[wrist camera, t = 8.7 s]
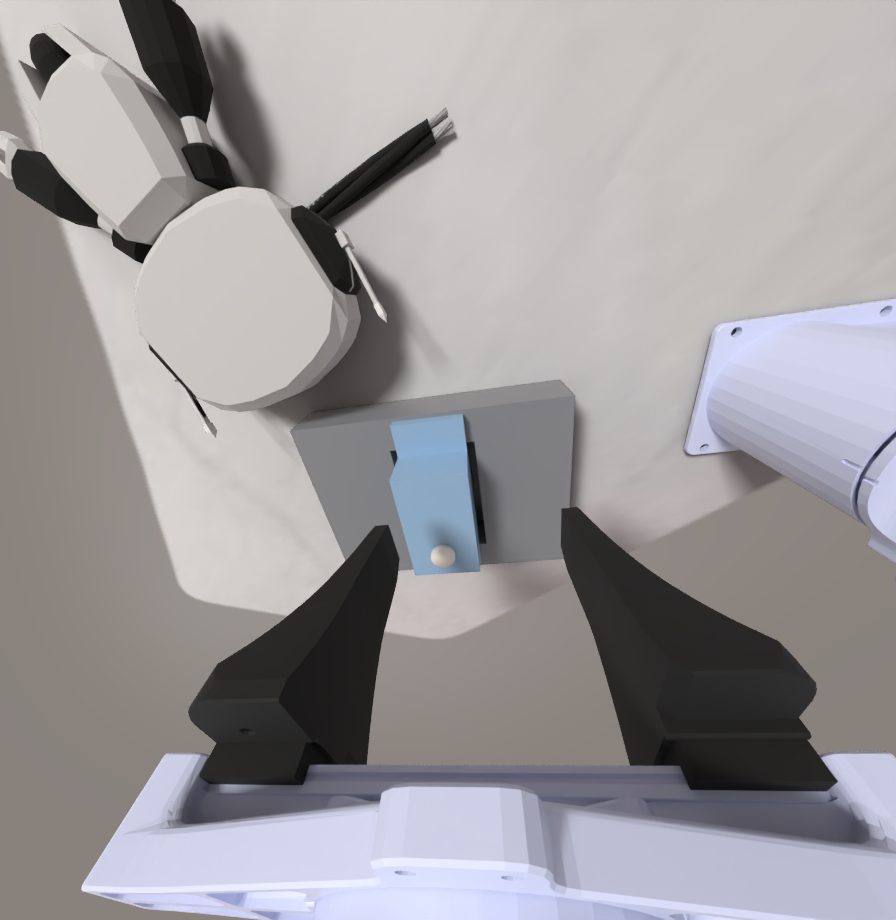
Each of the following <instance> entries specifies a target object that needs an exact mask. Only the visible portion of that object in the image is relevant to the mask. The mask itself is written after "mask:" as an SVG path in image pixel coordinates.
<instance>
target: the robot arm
mask: <svg viewBox="0 0 896 920" xmlns="http://www.w3.org/2000/svg"><path fill="white" fill-rule="evenodd" d="M882 309H883V311H882V312H881V310H882ZM880 312H881V313H880ZM735 328H736V332H735V334H733V335H732V336H731V332H732V330H733V329H735ZM704 444H705V445H704ZM702 445H704V446H703V447H702V448H700V447H701V446H702ZM684 450H685V451H686V452H687V453H688V454H690V455H698V454H708V453H718V452H728V451H738V450H742V451H744V452H746V453H747V454H749V455H751V456H752V457H754V458H756V459H757V460H759V461H761V462H762V463H764V464H765V465H767V466H769V467H770V468H772V469H774V470H775V471H777V472H779V473H780V474H782V475H784V476H785V477H787V478H788V479H790V480H792V481H794V482H795V483H797V484H798V485H800V486H802V487H803V488H805V489H807V490H808V491H810V492H811V493H813V494H815V495H816V496H818V497H820V498H821V499H823V500H825V501H826V502H828V503H829V504H831V505H833V506H834V507H836V508H838V509H839V510H841V511H843V512H844V513H846V514H848V515H849V516H851V517H852V518H854V519H856V520H857V521H859V522H861V523H862V524H864V525H866V526H867V527H868V528H869V529H870V533H871V534H870V539H869V541H868V546H869V547H871V548H872V549H874V550H875V551H877V552H878V553H880V554H881V555H883V556H884V557H886V558H887V559H889V560H891V561H892V562H894V563H895V564H896V298H895V299H888V300H881V301H874V302H867V303H860V304H853V305H846V306H839V307H832V308H825V309H818V310H811V311H804V312H797V313H790V314H783V315H776V316H769V317H762V318H755V319H748V320H741V321H734V322H727V323H722V324H720V325H718V326H717V327H716V328H715V329H714V330H713V333H712V336H711V340H710V344H709V348H708V352H707V356H706V360H705V364H704V368H703V373H702V377H701V381H700V385H699V389H698V393H697V397H696V401H695V405H694V409H693V414H692V418H691V422H690V426H689V430H688V434H687V438H686V442H685V446H684ZM561 549H562V553H563V556H564V560H565V563H566V567H567V570H568V573H569V575H570V578H571V580H572V582H573V585H574V588H575V590H576V592H577V595H578V597H579V599H580V602H581V604H582V606H583V609H584V612H585V614H586V617H587V619H588V621H589V624H590V627H591V630H592V632H593V635H594V638H595V642H596V645H597V648H598V651H599V655H600V658H601V661H602V665H603V668H604V671H605V675H606V678H607V682H608V685H609V689H610V692H611V696H612V699H613V703H614V707H615V710H616V714H617V717H618V721H619V725H620V728H621V732H622V736H623V740H624V744H625V748H626V752H627V755H628V759H629V763H630V766H587V765H585V766H583V765H582V766H580V765H578V766H577V765H561V766H560V765H558V766H557V765H552V766H551V765H367V754H368V744H369V733H370V723H371V714H372V706H373V697H374V690H375V682H376V675H377V668H378V662H379V655H380V649H381V643H382V638H383V634H384V630H385V626H386V622H387V618H388V614H389V610H390V607H391V603H392V599H393V595H394V591H395V587H396V583H397V577H398V569H399V560H400V558H399V555H398V552H397V549H396V546H395V543H394V540H393V537H392V534H391V531H390V528H389V525H379V526H374V528H373V529H372V530H371V531H370V532H369V534H368V535H367V536H366V537H365V538H364V540H363V541H362V542H361V543H360V544H359V546H358V547H357V548H356V549H355V551H354V552H353V553H352V554H351V555H350V556H349V558H348V559H347V560H346V561H345V562H344V563H343V564H342V566H341V567H340V568H339V569H338V570H337V571H336V572H335V573H334V574H333V575H332V576H331V577H330V578H329V580H328V581H327V582H326V583H325V584H324V585H323V586H322V587H321V588H319V589H318V590H317V591H316V592H315V593H314V594H313V595H312V596H311V597H310V598H309V599H308V600H306V601H305V602H304V603H303V604H302V605H301V606H299V607H298V608H297V609H296V610H294V611H293V612H292V613H291V614H290V615H288V616H287V617H286V618H285V619H284V620H282V621H281V622H280V623H279V624H277V625H276V626H274V627H273V628H272V629H270V630H269V631H268V632H266V633H265V634H263V635H262V636H260V637H259V638H258V639H256V640H255V641H253V642H252V643H250V644H249V645H247V646H246V647H244V648H243V649H241V650H239V651H238V652H236V653H234V654H233V655H231V656H230V657H228V658H227V659H225V660H223V661H222V662H220V663H218V664H217V666H216V667H215V669H214V670H213V672H212V673H211V675H210V676H209V678H208V680H207V681H206V682H205V684H204V686H203V687H202V689H201V690H200V692H199V693H198V695H197V696H196V698H195V699H194V701H193V703H192V704H191V706H190V708H189V711H188V713H189V717H190V719H191V721H192V722H193V723H194V724H195V725H196V726H197V727H198V728H199V729H201V730H202V731H203V732H204V733H205V734H207V735H208V736H209V737H210V738H211V739H213V740H214V741H215V742H216V745H215V747H214V749H213V751H212V753H211V755H208V754H204V753H197V752H194V753H193V752H173V753H172V752H169V753H167V754H165V755H164V757H163V759H162V760H161V762H160V763H159V765H158V766H157V768H156V770H155V771H154V773H153V774H152V776H151V778H150V779H149V781H148V782H147V784H146V786H145V787H144V789H143V790H142V792H141V793H140V795H139V796H138V798H137V800H136V801H135V803H134V804H133V806H132V808H131V809H130V811H129V812H128V814H127V816H126V817H125V818H124V820H123V822H122V823H121V825H120V826H119V828H118V830H117V831H116V833H115V834H114V836H113V837H112V839H111V841H110V842H109V844H108V845H107V847H106V849H105V850H104V852H103V853H102V855H101V856H100V858H99V860H98V861H97V863H96V864H95V866H94V867H93V869H92V871H91V872H90V874H89V875H88V877H87V878H86V880H85V882H84V883H83V885H82V891H84V892H87V893H91V894H95V895H98V896H102V897H106V898H109V899H113V900H116V901H120V902H124V903H127V904H131V905H134V906H138V907H141V908H145V909H154V910H167V911H168V910H169V911H181V912H192V913H202V914H213V915H223V916H232V917H241V918H250V919H259V920H896V758H895V757H894V756H893V755H892V754H890V753H888V752H886V751H835V752H828V753H824V754H821V755H818V754H817V752H816V751H815V750H814V748H813V747H812V746H811V744H810V743H809V742H808V740H807V739H810V738H811V734H810V732H809V731H808V729H807V728H806V727H805V725H804V724H803V723H802V721H801V720H800V719H799V716H800V715H801V714H802V713H803V711H804V710H805V709H806V708H807V706H808V705H809V704H810V703H811V702H812V700H813V698H814V696H815V694H816V691H817V688H816V682H815V681H814V680H813V679H812V678H811V677H810V676H809V674H808V673H807V672H806V671H805V670H804V669H803V667H802V666H801V665H800V664H799V663H798V661H797V660H796V659H795V658H794V657H793V656H792V655H791V654H790V653H789V652H788V651H787V649H786V648H785V647H784V646H782V644H781V643H780V642H779V641H777V640H775V639H772V638H770V637H768V636H766V635H764V634H762V633H760V632H758V631H756V630H753V629H751V628H749V627H747V626H745V625H743V624H741V623H738V622H736V621H734V620H732V619H730V618H729V617H727V616H724V615H723V614H721V613H719V612H717V611H715V610H713V609H711V608H710V607H708V606H706V605H704V604H702V603H701V602H699V601H697V600H695V599H693V598H692V597H690V596H689V595H687V594H685V593H683V592H682V591H680V590H679V589H677V588H675V587H674V586H672V585H670V584H669V583H667V582H666V581H664V580H663V579H661V578H660V577H658V576H657V575H656V574H654V573H653V572H651V571H650V570H648V569H647V568H646V567H644V566H643V565H642V564H640V563H639V562H638V561H636V560H635V559H634V558H633V557H631V556H630V555H629V554H628V553H626V552H625V551H624V550H623V549H622V548H620V547H619V546H618V545H617V544H616V543H615V542H614V541H612V540H611V539H610V538H609V537H608V536H607V535H606V534H605V533H604V532H603V531H601V530H600V529H599V528H598V527H597V526H596V525H595V524H594V523H593V522H592V521H591V520H590V519H589V518H588V517H587V516H586V515H585V514H584V513H583V512H582V511H581V510H580V509H579V508H578V507H573V508H562V509H561ZM895 587H896V576H895Z"/></svg>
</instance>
